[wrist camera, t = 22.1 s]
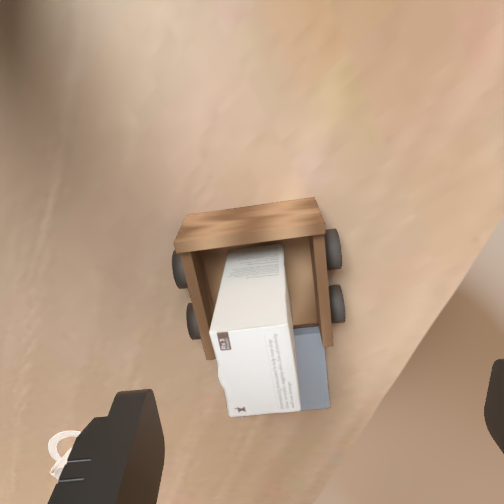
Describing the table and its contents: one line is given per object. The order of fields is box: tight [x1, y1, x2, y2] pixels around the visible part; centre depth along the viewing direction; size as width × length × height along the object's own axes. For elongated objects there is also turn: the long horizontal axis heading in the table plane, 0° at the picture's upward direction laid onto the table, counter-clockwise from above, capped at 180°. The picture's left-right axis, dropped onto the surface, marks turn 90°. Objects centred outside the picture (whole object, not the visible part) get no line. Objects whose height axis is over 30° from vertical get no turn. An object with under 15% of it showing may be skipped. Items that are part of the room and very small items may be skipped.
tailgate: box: [238, 326, 330, 417], centre depth 49 cm, size 12×1×12 cm
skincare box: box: [209, 243, 301, 417], centre depth 36 cm, size 8×6×15 cm
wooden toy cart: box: [172, 197, 345, 360], centre depth 40 cm, size 16×14×7 cm
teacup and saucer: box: [48, 431, 81, 480], centre depth 55 cm, size 9×8×4 cm
